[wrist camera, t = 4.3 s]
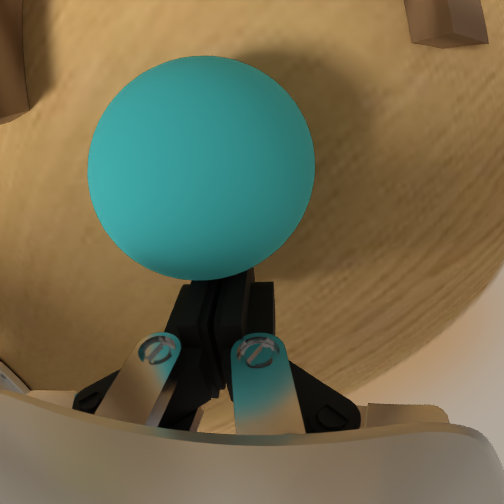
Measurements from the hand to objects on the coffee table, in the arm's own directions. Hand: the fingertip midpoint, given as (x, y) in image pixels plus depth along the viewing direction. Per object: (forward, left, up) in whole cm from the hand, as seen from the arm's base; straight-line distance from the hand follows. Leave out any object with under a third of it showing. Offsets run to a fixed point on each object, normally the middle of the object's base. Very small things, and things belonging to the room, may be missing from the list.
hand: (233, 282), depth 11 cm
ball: (+5, 0, +1) cm, 5 cm away
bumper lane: (+21, 0, -2) cm, 21 cm away
